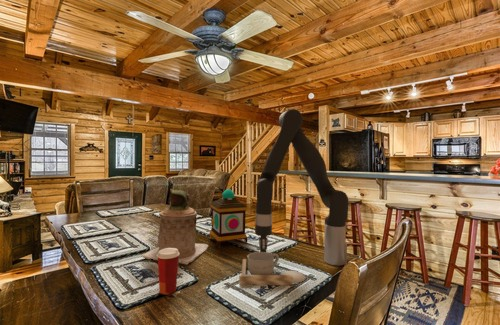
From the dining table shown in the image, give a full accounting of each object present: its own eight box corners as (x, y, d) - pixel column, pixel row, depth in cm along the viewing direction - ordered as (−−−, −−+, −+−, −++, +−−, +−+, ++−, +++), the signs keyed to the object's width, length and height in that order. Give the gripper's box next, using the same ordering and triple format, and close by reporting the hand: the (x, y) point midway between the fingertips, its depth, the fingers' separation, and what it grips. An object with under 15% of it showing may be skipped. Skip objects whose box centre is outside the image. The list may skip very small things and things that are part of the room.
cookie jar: (190, 265, 111) (190, 192, 111) (139, 260, 116) (140, 190, 115) (210, 247, 135) (210, 187, 135) (167, 243, 140) (168, 185, 140)
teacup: (252, 282, 96) (252, 261, 96) (243, 270, 106) (244, 251, 106) (285, 278, 100) (285, 257, 100) (274, 267, 110) (274, 248, 110)
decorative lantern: (206, 238, 150) (206, 187, 150) (237, 234, 158) (237, 186, 158) (216, 249, 132) (217, 191, 132) (250, 244, 140) (251, 190, 140)
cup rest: (286, 266, 111) (286, 259, 111) (292, 285, 94) (292, 277, 94) (241, 265, 111) (241, 258, 111) (239, 284, 94) (239, 276, 94)
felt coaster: (302, 271, 106) (302, 270, 106) (307, 283, 96) (307, 282, 96) (278, 271, 106) (278, 270, 106) (281, 282, 96) (281, 281, 96)
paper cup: (181, 285, 93) (181, 247, 93) (176, 296, 85) (176, 254, 85) (160, 285, 93) (160, 247, 93) (152, 296, 85) (153, 254, 85)
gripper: (273, 227, 106) (272, 268, 106) (271, 220, 119) (270, 256, 119) (255, 227, 106) (254, 268, 106) (255, 219, 119) (254, 256, 119)
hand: (262, 262), depth 112 cm, fingers closed
